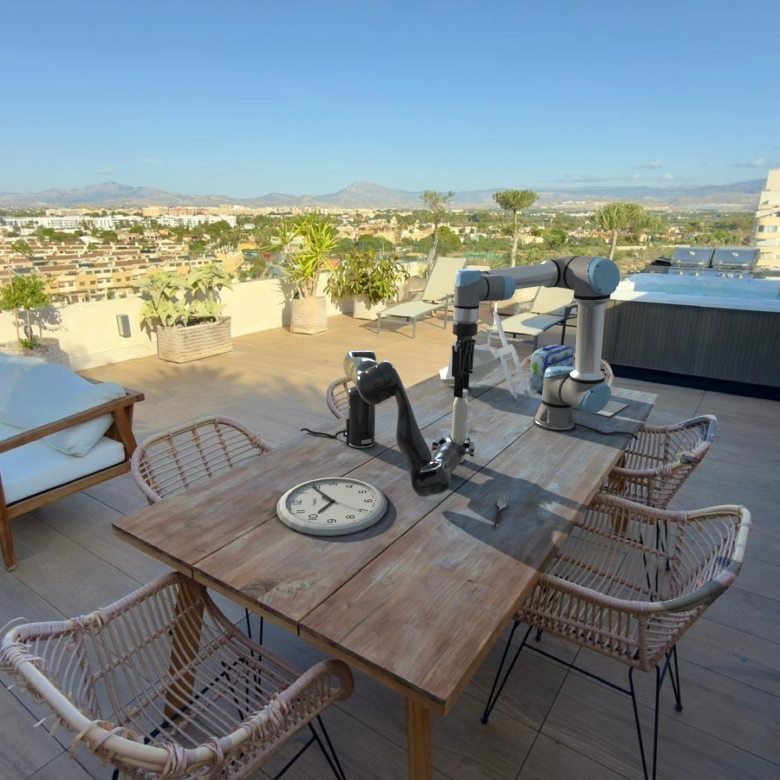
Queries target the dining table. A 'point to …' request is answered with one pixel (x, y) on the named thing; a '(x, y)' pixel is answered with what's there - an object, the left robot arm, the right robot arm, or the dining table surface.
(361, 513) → the wall clock
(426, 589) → the dining table surface
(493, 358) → the white plastic object
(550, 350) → the lunch box
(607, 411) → the invitation card
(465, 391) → the cap
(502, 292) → the right robot arm
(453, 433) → the bottle
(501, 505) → the fork
